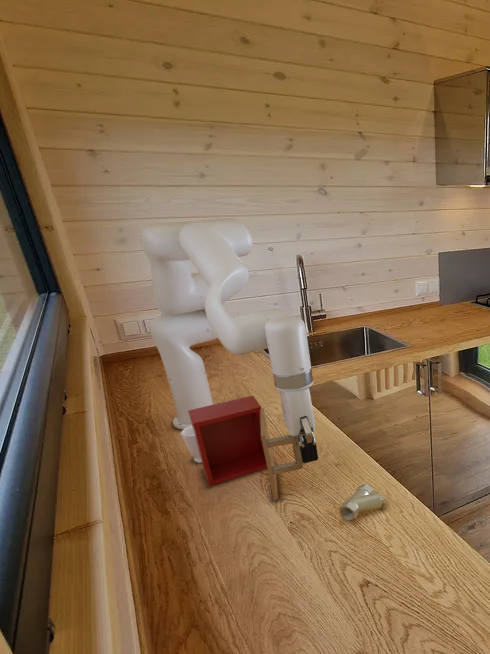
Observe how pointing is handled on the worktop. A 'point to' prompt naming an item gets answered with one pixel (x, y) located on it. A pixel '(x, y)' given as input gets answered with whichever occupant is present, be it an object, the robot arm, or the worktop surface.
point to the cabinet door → (268, 453)
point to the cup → (191, 443)
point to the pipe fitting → (361, 502)
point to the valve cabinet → (229, 439)
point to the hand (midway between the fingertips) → (305, 450)
